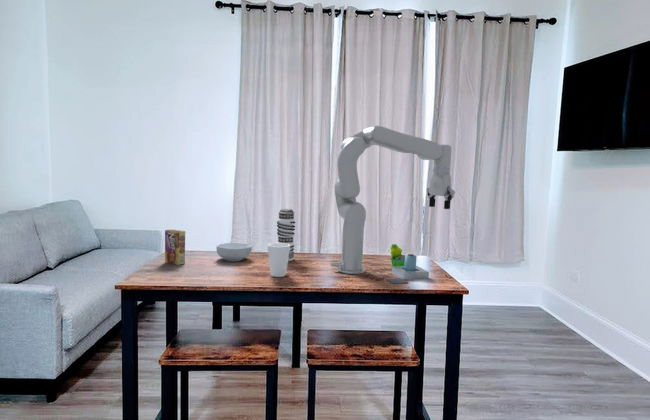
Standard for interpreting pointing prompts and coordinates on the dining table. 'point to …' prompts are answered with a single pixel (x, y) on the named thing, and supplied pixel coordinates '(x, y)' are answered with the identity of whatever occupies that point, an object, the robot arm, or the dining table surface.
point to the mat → (396, 281)
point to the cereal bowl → (234, 251)
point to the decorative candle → (286, 229)
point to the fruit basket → (397, 256)
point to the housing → (410, 273)
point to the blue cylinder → (410, 262)
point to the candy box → (175, 247)
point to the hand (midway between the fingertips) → (439, 207)
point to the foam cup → (278, 258)
